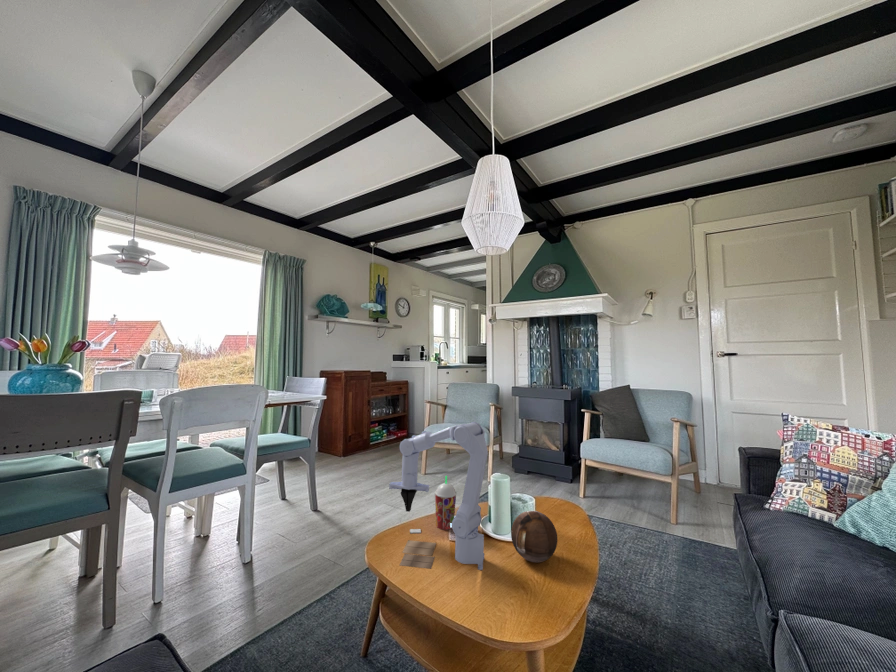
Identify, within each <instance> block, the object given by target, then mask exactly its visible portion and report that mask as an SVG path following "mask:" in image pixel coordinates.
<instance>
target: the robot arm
mask: <svg viewBox="0 0 896 672" xmlns="http://www.w3.org/2000/svg"><path fill="white" fill-rule="evenodd" d="M485 434H486V431H485V429H484V428H483V427H482V426H481V424H480V423H478V422H477V421H471V422H469V423H466V422H465V423H461V424H455V425H452V426H451V425H450V426H449V427H446V428H444V429H443V428H442V429H441V430H439V431H436V432H434V433H432V432H431V431H427V430H424V431H421V433H420V434H417V435H416V434H414V435H412V436H411V437H410V438H404V439H403V440H402V441H400V443H399V452H400V453H401V454H402V459H401V460H402V461H401V481H391V482H389V484H388V485H389V486H388V489H389V490H393V489H394V490H395V489H396V490H400V495H401V497H402V500H403V503H404V507H405V512H409V513H410V512H411V510H412V507H413V502H414V499H415V496H416V494H417V493H418V491H419V492H425V493H429V491H430V484H425V483H420V482H418V476H419V475H418V469H419V457H420V452H423V451H427V450H429V449H432V448H434V447H435V446H436V443H438V442H440V441H444V440H447V439H451V440H452V441H455V442H456V443H457V444H458V446H460V447H461V448H463V450H464V451H466V452H467V453H468V455H469V461H468V466H467V471H466V478H465V483H464V484H465V485H464V489H463V494H462V499H461V500H462V501H461V503H460V505H459V507H458V509H457V510H456V512H455V513H456V514H455V515H454V519H453V521H452V528H451V530H452V531H453V533H454V535H455V541H454V542H455V544H454V545H455V549H454V559H455V561H457V562H458V563H459V564H464V565H477V570H478V571H483V569H484V560H485V553H484V547H485V540H484V539H485V535H484V534H482V533H479V527H480V525H481V524H482V514H481V512H482V511H481V510H482V507H481V506H480V505H479V503H480V498H481V491H482V485H483V481H484V476H485V469H486V465H487V460H488V454H489V453H488V452H489V451H488V446H487V443H486V438H485Z"/></svg>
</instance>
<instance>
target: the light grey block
mask: <svg viewBox="0 0 896 672" xmlns="http://www.w3.org/2000/svg"><path fill="white" fill-rule="evenodd" d="M421 530H422V529H421V528H410V529H409V534H421V533H422V531H421Z"/></svg>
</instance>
